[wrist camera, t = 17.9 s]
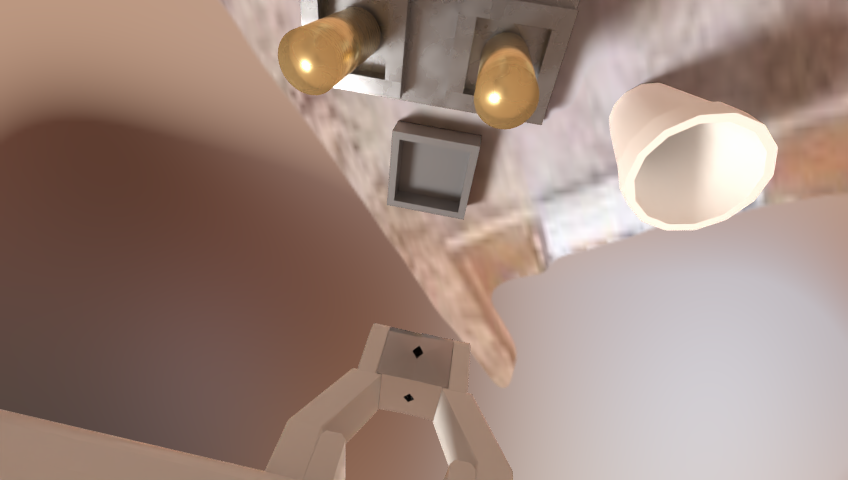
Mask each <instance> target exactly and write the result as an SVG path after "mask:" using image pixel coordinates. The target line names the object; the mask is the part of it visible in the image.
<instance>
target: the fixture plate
mask: <svg viewBox="0 0 848 480" xmlns="http://www.w3.org/2000/svg"><path fill="white" fill-rule="evenodd" d="M579 1H580V0H300V9H301V24H302V26H303V25H306V24H308V23H311V22H313V21H316V20H319V19H321V18H324V17H326V16H329V15H331V14H334V13H337V12H339V11H342V10H344V9H347V8H349V7H361V8H363V9H365V10H367V11H368V12H370V13H371V14H372V15H373V16H374V18H375V19H376V21H377V23H378V25H379V29H380V43H379V46H378V48H377V50H376V51H375V53H373V54H372V55H371V56H370V57H369V58H368V59H366V60H365V61H364V62H363V63H362V64H360V65H359V66H358V67H357V68H356V69H354V70H353V71H352V72H351V73H350V74H348V75H347V76H346V77H345V78H343V79H342V80H341V81H340V82H339V83H337V84H336V85H335V86H334V87H333V88H337V89H342V90H348V91H354V92H359V93H365V94H370V95H376V96H381V97H387V98H393V99H398V100H404V101H409V102H415V103H421V104H426V105H432V106H437V107H443V108H448V109H454V110H460V111H465V112H471V113H476V114H477V112H476V109H475V105H474V93H475V88H476V82H477V76H478V71H479V65H480V60H481V54H482V51H483V48H484V46H485V45H486V43H487V42H488V41H489V40H490V39H491V38H492V37H493V36H495V35H497V34H499V33H503V32H511V33H515V34H517V35H519V36H520V37H521V38H522V39H523V40H524V41H525V43H526V44H527V47H528V50H529V54H530V57H531V61H532V65H533V68H534V72H535V76H536V79H537V83H538V87H539V101H538V105H537V107H536V110H535V111H534V113H533V114H532V116H531V117H530V118H529V119H528V120H527V121H526V122H527V123H532V124H538V125H542V122H543V119H544V116H545V113H546V110H547V107H548V103H549V100H550V97H551V94H552V91H553V88H554V85H555V82H556V79H557V76H558V73H559V69H560V66H561V63H562V60H563V57H564V54H565V51H566V48H567V45H568V42H569V39H570V36H571V32H572V29H573V26H574V23H575V20H576V17H577V14H578V10H577V7H578V4H579Z"/></svg>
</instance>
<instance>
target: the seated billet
mask: <svg viewBox="0 0 848 480" xmlns="http://www.w3.org/2000/svg"><path fill="white" fill-rule="evenodd" d="M538 101H539V87H538V83H537V79H536V76H535V72H534V68H533V65H532V61H531V57H530V54H529V50H528V47H527V44H526V43H525V41H524V40H523V39H522V38H521V37H520V36H519V35H517V34H515V33H511V32H503V33H499V34H497V35H495V36H493V37H492V38H491V39H490V40H489V41H488V42H487V43H486V45H485V46H484V48H483V51H482V54H481V60H480V65H479V71H478V76H477V82H476V88H475V93H474V105H475V109H476V112H477V114H478V115H479V117H480V118H481V119H482V120H483V121H484V122H485V123H486V124H488V125H489V126H491V127H494V128H497V129H511V128H514V127H517V126H519V125H521V124H523V123H524V122H526V121H527V120H528V119H529V118H530V117H531V116H532V114H533V113H534V111H535V110H536V107H537V105H538Z"/></svg>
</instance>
